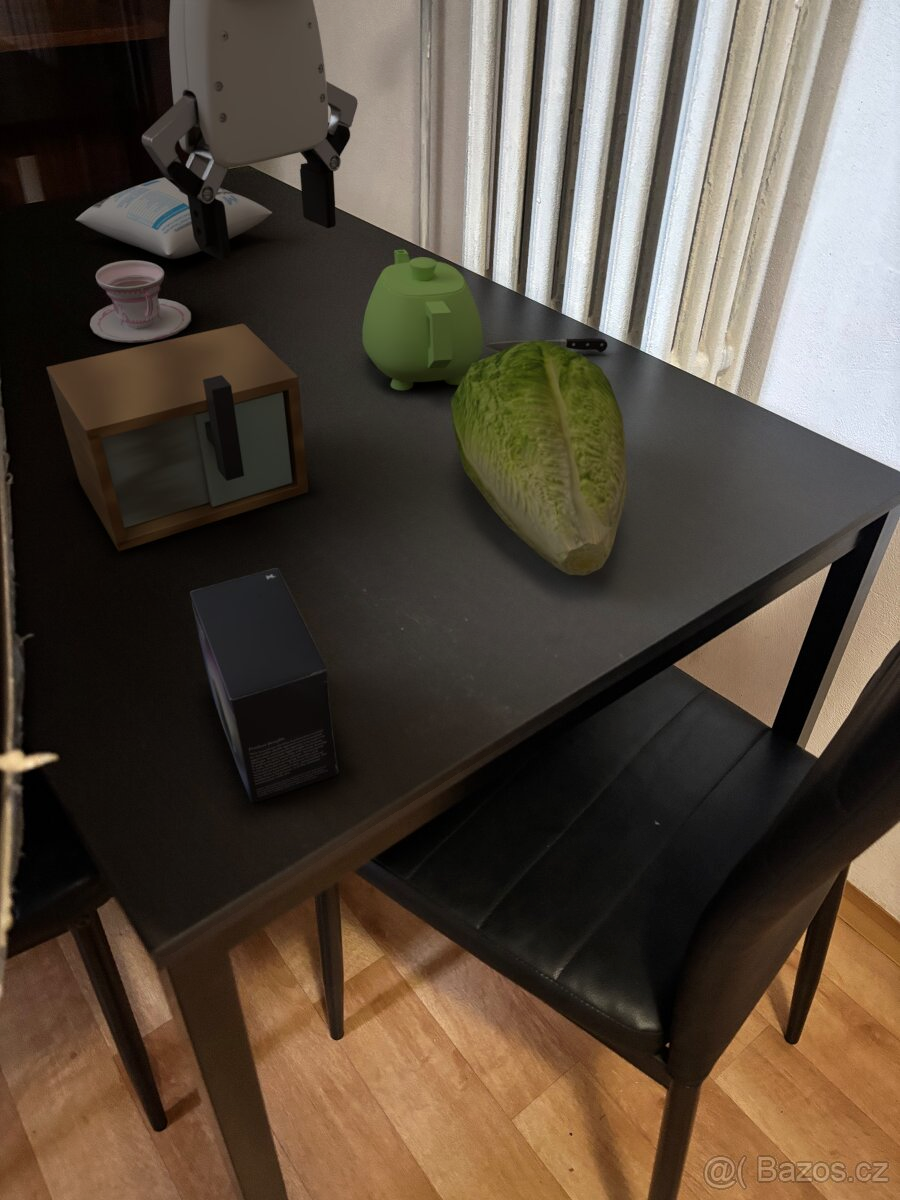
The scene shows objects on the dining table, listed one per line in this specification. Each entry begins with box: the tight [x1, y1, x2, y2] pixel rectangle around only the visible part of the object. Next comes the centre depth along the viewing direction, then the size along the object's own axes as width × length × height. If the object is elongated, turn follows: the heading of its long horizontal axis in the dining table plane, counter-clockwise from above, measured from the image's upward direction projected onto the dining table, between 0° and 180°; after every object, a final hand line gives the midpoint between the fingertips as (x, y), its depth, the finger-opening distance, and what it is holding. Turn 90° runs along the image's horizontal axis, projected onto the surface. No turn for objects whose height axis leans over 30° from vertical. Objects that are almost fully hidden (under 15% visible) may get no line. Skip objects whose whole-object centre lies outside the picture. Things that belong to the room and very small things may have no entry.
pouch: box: [75, 177, 274, 260], centre depth 129 cm, size 8×19×20 cm
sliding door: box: [194, 375, 292, 507], centre depth 78 cm, size 8×4×13 cm, turn 122°
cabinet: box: [46, 323, 309, 552], centre depth 82 cm, size 18×12×12 cm, turn 122°
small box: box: [189, 567, 340, 804], centre depth 60 cm, size 11×6×10 cm, turn 25°
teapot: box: [361, 249, 484, 391], centre depth 101 cm, size 20×13×13 cm
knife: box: [484, 337, 609, 353], centre depth 107 cm, size 15×1×2 cm, turn 95°
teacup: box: [89, 259, 192, 344], centre depth 110 cm, size 12×12×6 cm
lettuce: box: [450, 339, 628, 576], centre depth 80 cm, size 14×24×15 cm
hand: (269, 238), depth 68 cm, fingers open, 9 cm apart
